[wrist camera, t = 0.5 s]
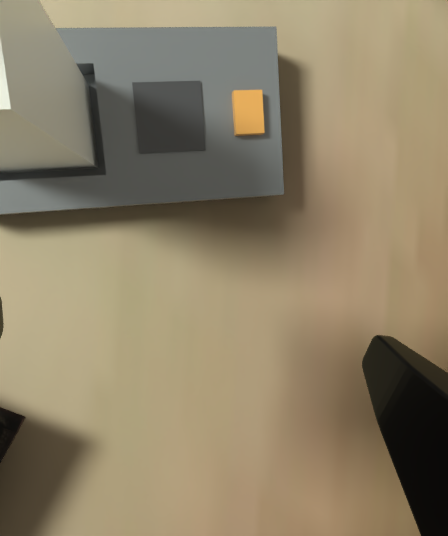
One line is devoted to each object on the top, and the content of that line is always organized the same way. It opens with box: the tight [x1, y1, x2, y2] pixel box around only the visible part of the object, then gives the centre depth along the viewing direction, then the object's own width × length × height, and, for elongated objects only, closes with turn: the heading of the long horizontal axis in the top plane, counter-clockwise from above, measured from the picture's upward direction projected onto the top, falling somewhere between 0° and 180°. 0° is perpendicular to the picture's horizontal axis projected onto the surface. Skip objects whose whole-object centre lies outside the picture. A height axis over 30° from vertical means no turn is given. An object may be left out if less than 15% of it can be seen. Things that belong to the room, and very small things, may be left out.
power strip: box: [0, 27, 284, 215], centre depth 20 cm, size 16×8×3 cm, turn 94°
